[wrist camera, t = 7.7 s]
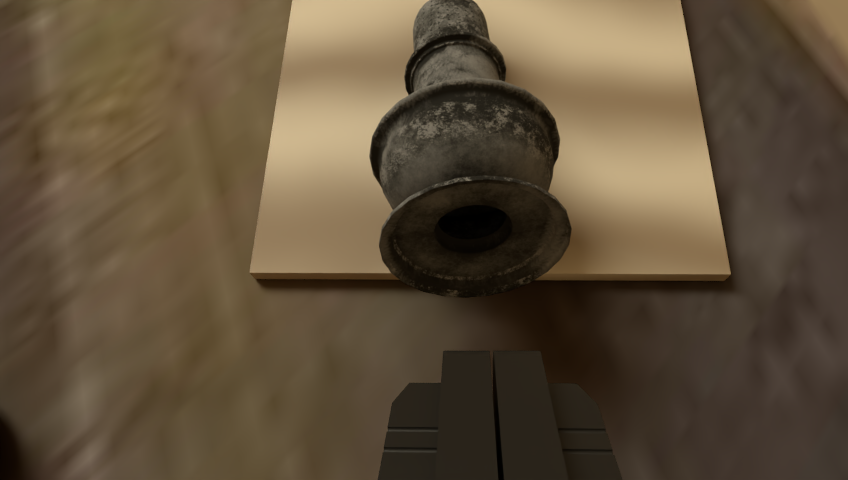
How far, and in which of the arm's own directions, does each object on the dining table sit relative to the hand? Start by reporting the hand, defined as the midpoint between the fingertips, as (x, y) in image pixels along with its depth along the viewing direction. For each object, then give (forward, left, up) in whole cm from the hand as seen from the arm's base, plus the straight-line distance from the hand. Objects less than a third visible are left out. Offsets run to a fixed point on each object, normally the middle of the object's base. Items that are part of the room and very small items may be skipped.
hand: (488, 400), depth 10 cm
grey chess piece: (-2, +5, -6) cm, 8 cm away
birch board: (-5, +13, -10) cm, 17 cm away
